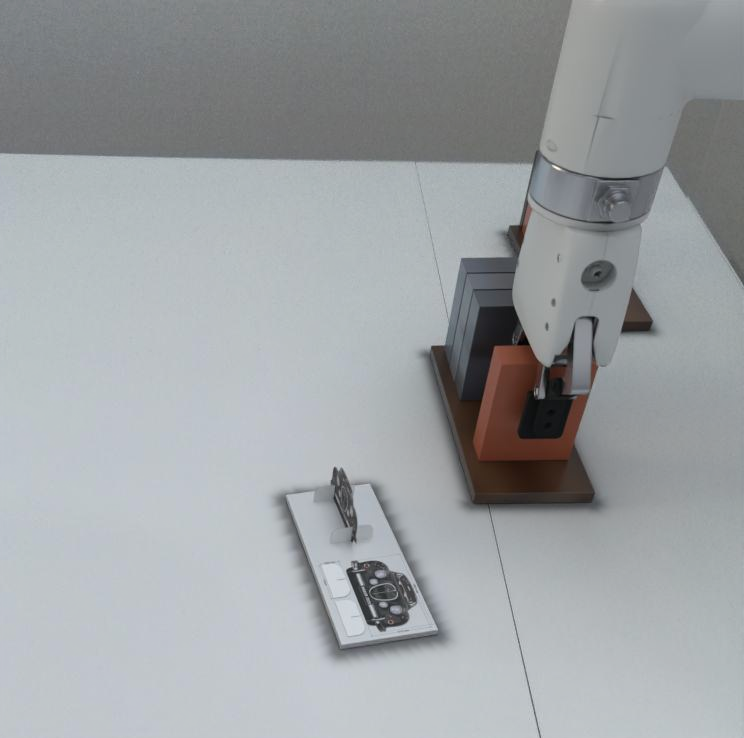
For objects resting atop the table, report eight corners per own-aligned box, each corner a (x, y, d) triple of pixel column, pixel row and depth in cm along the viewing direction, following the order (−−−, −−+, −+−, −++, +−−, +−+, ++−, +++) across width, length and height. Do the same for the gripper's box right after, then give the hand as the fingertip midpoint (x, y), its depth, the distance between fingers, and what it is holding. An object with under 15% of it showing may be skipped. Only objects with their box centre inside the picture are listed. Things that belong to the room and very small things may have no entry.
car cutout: (285, 499, 75) (288, 453, 72) (369, 487, 75) (375, 442, 72) (340, 649, 64) (346, 603, 61) (437, 634, 65) (448, 588, 62)
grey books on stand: (529, 353, 88) (555, 251, 81) (592, 502, 74) (630, 394, 67) (429, 354, 88) (447, 252, 81) (472, 503, 74) (498, 396, 67)
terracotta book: (560, 440, 78) (590, 344, 71) (568, 460, 76) (600, 363, 70) (472, 441, 78) (494, 345, 71) (478, 461, 76) (501, 364, 70)
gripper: (702, 246, 55) (612, 487, 68) (613, 127, 68) (551, 351, 80) (569, 248, 56) (505, 489, 68) (504, 129, 68) (459, 352, 80)
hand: (530, 412), depth 74 cm, fingers open, 4 cm apart
